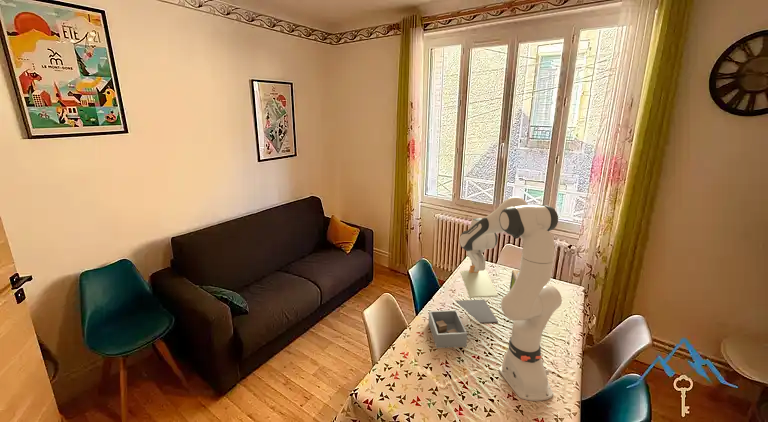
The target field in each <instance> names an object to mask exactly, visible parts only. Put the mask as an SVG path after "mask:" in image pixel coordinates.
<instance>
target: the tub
mask: <svg viewBox="0 0 768 422" xmlns="http://www.w3.org/2000/svg"><path fill="white" fill-rule="evenodd" d="M442 320H443V321H444V322H445V323H446V324H447V331H449V330H452V329H455V330H456V331H457V332H458V333H447V332H444V333H440V334H439V333H438V331H437V328H436V322H438V321H442ZM428 326H429V329H430V332H431V335H432V339H433V342H434V345H435V349H441V348H443V349H444V348H461V347H463V348H464V347H467V341H468V332H467V330H466V327H465V325H464V323H463V321H462V319H461V317H460V314H459V312H458V310H457V309H447V310H429V312H428Z"/></svg>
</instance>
